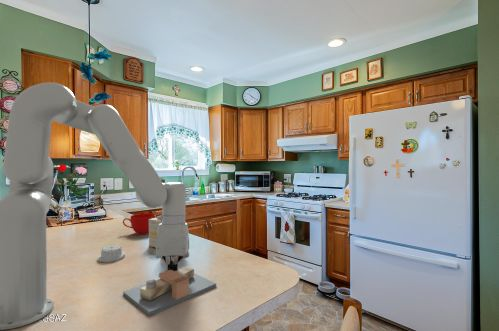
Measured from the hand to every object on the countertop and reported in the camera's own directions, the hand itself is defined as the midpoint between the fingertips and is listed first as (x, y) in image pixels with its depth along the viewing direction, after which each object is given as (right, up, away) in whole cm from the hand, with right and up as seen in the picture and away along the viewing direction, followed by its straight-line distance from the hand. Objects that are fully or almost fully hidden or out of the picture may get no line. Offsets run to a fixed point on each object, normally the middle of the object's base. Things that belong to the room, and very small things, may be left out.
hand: (172, 275), depth 86 cm
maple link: (+1, -1, -7) cm, 7 cm away
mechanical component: (-32, -3, +22) cm, 38 cm away
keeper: (+3, -1, -10) cm, 10 cm away
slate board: (+2, -2, -7) cm, 7 cm away
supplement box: (-18, -2, +37) cm, 41 cm away
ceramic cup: (-37, -3, +62) cm, 72 cm away
